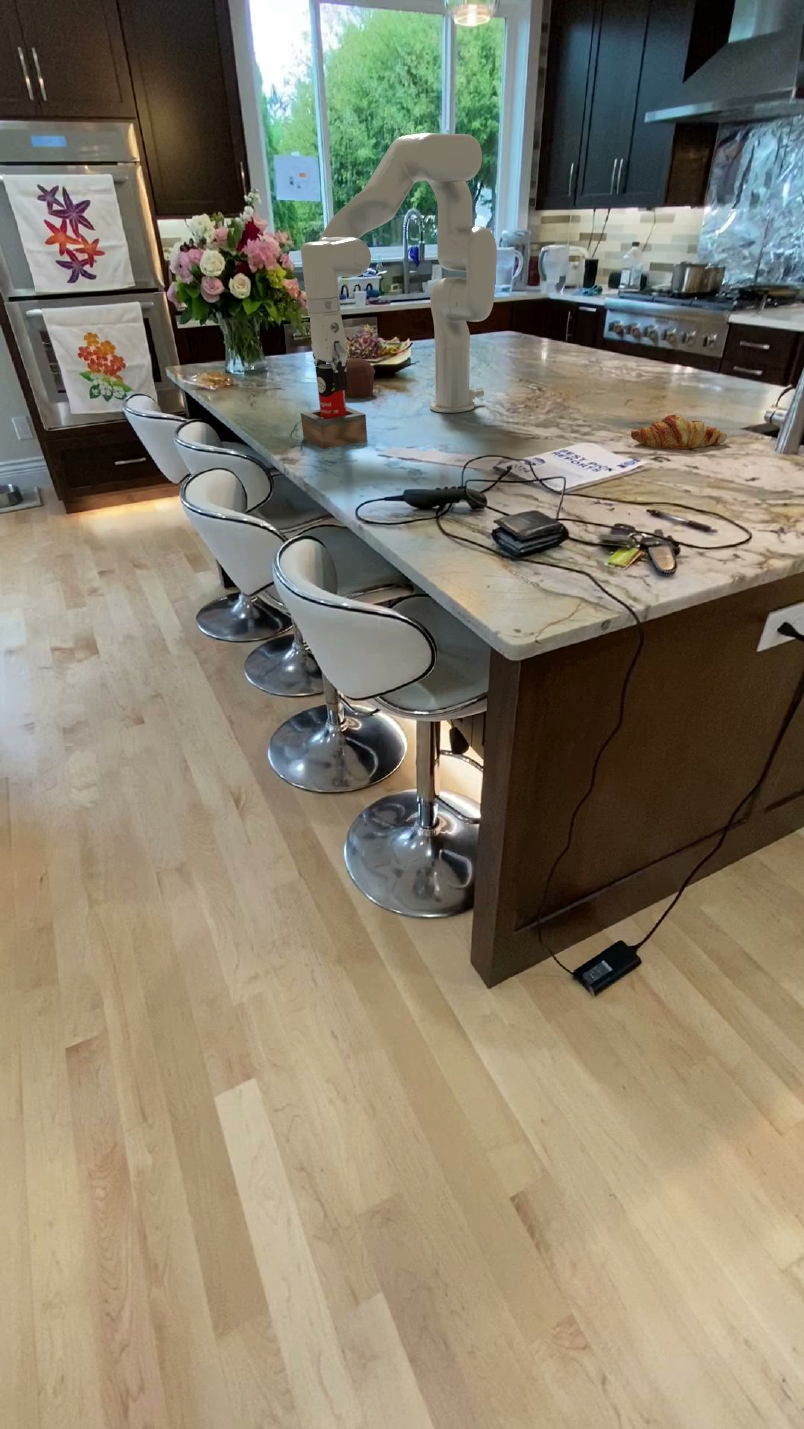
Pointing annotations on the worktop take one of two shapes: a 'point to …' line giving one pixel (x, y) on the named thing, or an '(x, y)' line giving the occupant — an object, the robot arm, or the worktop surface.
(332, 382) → the beverage can
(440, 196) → the robot arm
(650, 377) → the worktop surface
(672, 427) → the croissant
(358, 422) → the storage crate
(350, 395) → the muffin
